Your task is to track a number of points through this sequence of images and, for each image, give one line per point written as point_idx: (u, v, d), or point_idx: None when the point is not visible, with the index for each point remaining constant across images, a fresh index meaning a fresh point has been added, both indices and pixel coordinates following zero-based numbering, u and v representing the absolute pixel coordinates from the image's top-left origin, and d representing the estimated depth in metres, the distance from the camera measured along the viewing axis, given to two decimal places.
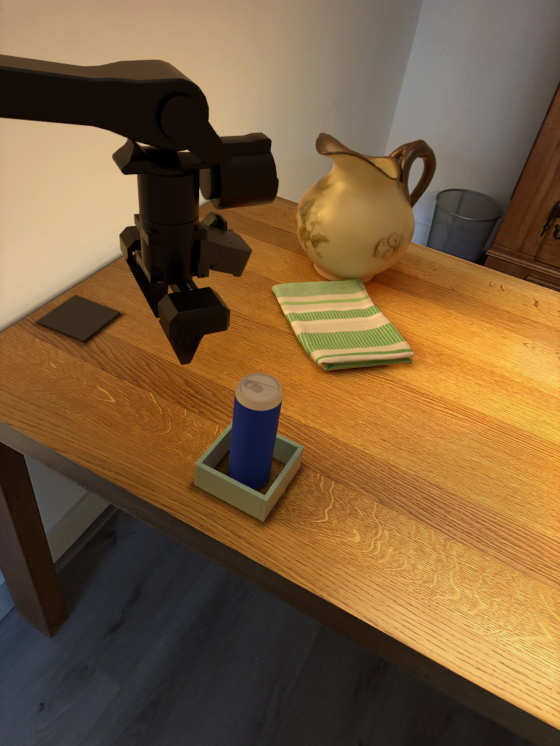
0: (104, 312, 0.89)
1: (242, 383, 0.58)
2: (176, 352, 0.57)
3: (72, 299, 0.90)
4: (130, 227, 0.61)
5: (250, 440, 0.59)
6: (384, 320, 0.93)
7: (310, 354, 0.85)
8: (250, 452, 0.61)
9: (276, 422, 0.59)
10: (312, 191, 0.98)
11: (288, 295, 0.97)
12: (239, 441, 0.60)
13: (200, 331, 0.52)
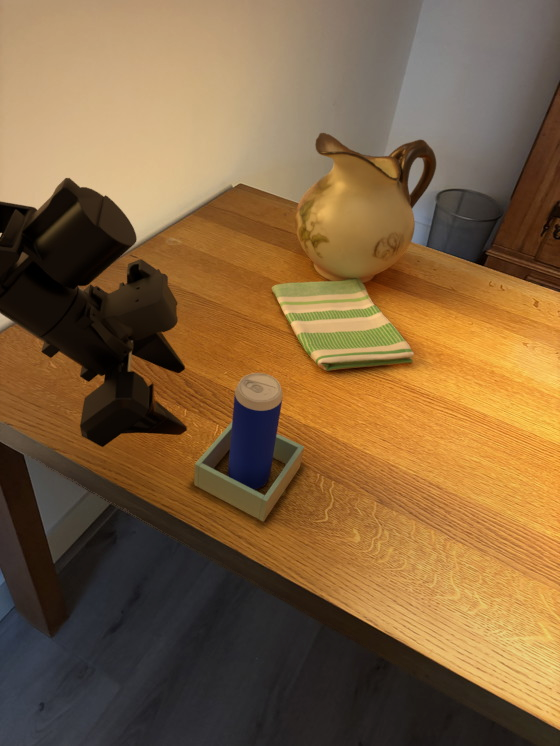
0: None
1: (242, 383, 0.58)
2: (153, 432, 0.52)
3: None
4: None
5: (250, 440, 0.59)
6: (384, 320, 0.93)
7: (310, 354, 0.85)
8: (250, 452, 0.61)
9: (276, 422, 0.59)
10: (312, 191, 0.98)
11: (288, 295, 0.97)
12: (239, 441, 0.60)
13: (116, 430, 0.46)
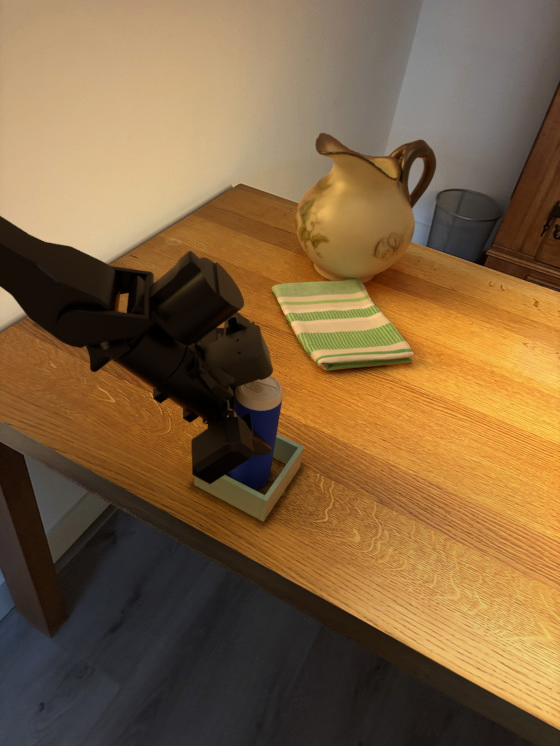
0: None
1: None
2: None
3: None
4: None
5: None
6: (384, 320, 0.93)
7: (310, 354, 0.85)
8: None
9: (276, 422, 0.59)
10: (312, 191, 0.98)
11: (288, 295, 0.97)
12: None
13: (224, 470, 0.51)
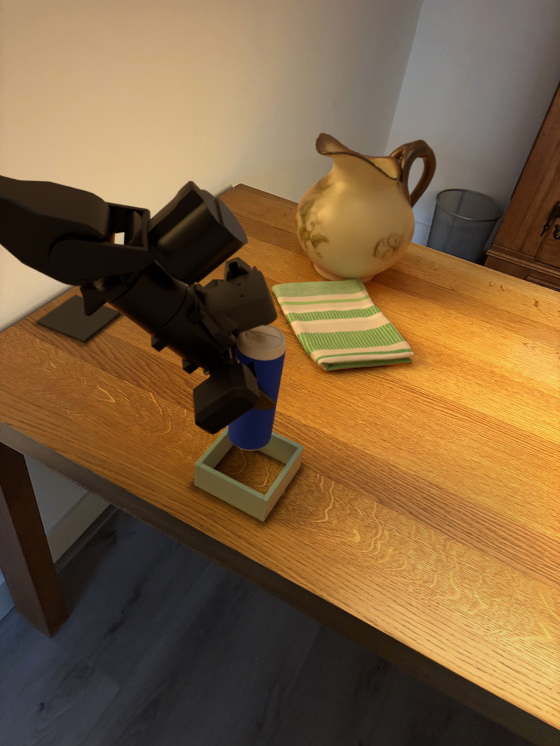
0: (104, 312, 0.89)
1: (244, 333, 0.55)
2: None
3: (72, 299, 0.90)
4: None
5: None
6: (384, 320, 0.93)
7: (310, 354, 0.85)
8: None
9: (280, 374, 0.57)
10: (312, 191, 0.98)
11: (288, 295, 0.97)
12: None
13: (229, 418, 0.48)
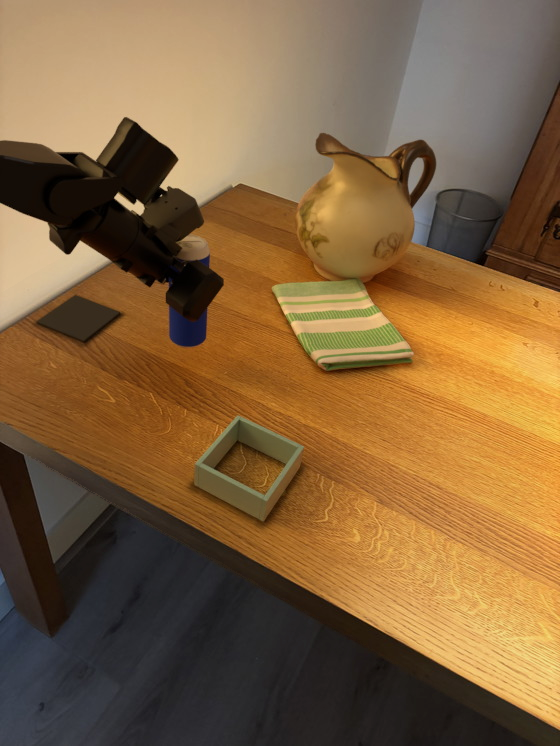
0: (104, 312, 0.89)
1: None
2: None
3: (72, 299, 0.90)
4: None
5: None
6: (384, 320, 0.93)
7: (310, 354, 0.85)
8: None
9: None
10: (312, 191, 0.98)
11: (288, 295, 0.97)
12: None
13: (207, 302, 0.62)
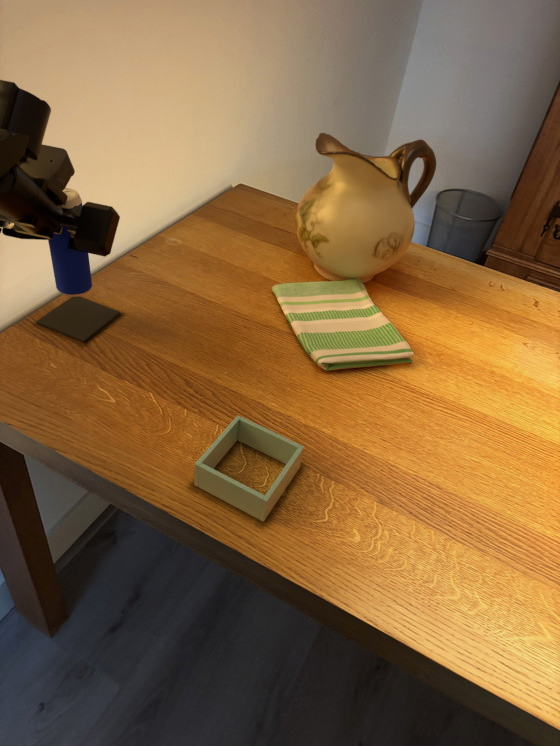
0: (104, 312, 0.89)
1: None
2: None
3: (72, 299, 0.90)
4: None
5: None
6: (384, 320, 0.93)
7: (310, 354, 0.85)
8: None
9: None
10: (312, 191, 0.98)
11: (288, 295, 0.97)
12: None
13: (113, 235, 0.71)
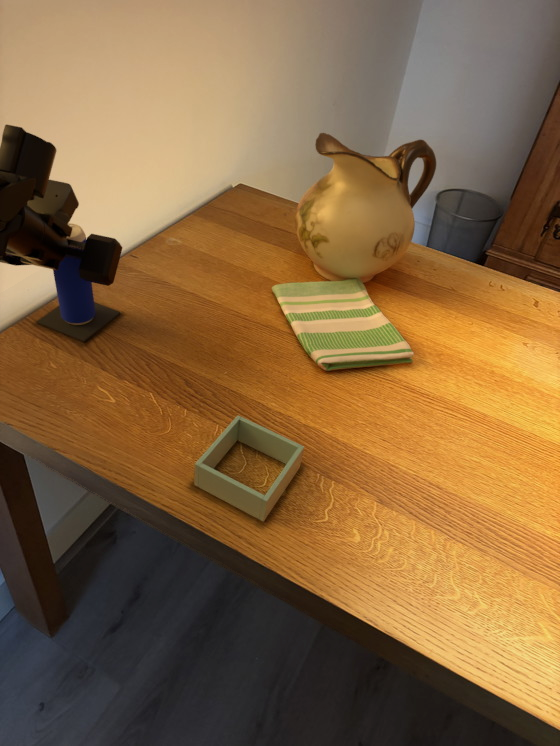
0: (104, 312, 0.89)
1: None
2: None
3: None
4: None
5: None
6: (384, 320, 0.93)
7: (310, 354, 0.85)
8: (86, 282, 0.81)
9: None
10: (312, 191, 0.98)
11: (288, 295, 0.97)
12: (76, 280, 0.80)
13: (116, 265, 0.74)
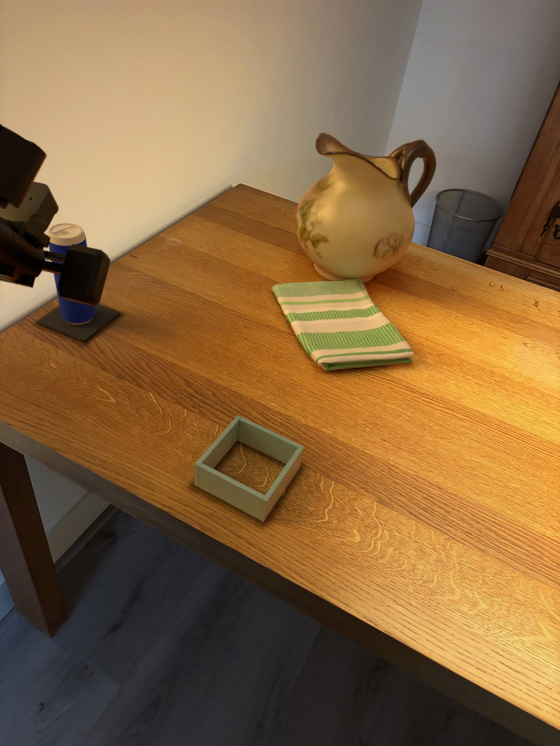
0: (104, 312, 0.89)
1: (54, 235, 0.76)
2: None
3: None
4: None
5: None
6: (384, 320, 0.93)
7: (310, 354, 0.85)
8: None
9: None
10: (312, 191, 0.98)
11: (288, 295, 0.97)
12: None
13: (103, 281, 0.62)
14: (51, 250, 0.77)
